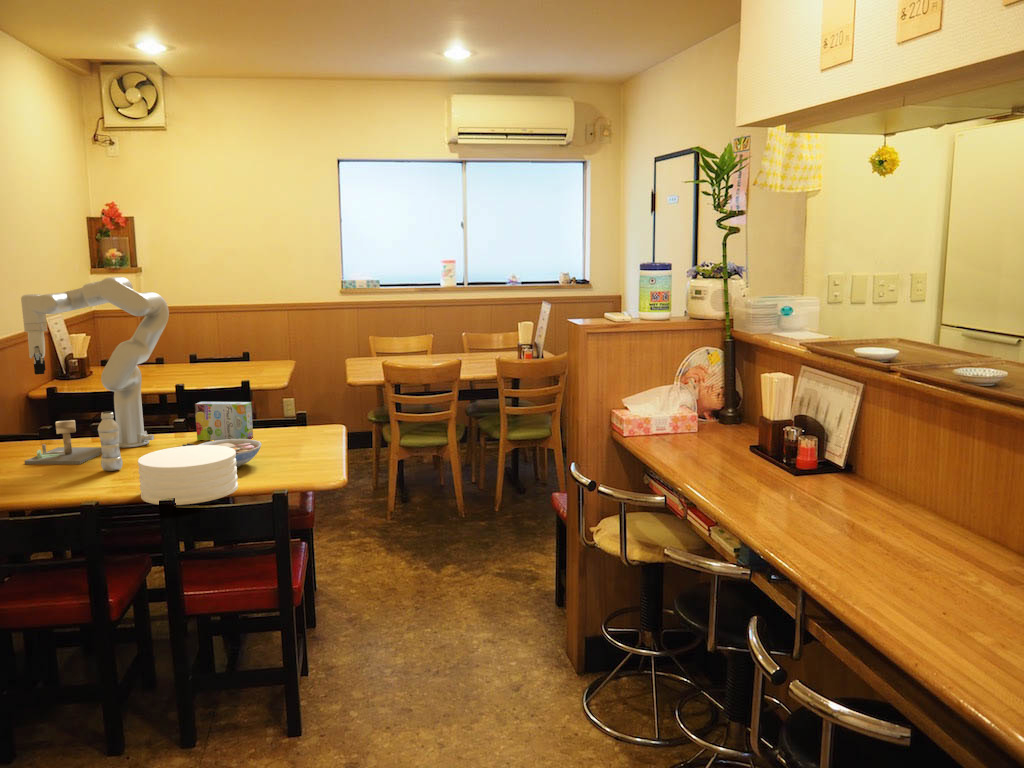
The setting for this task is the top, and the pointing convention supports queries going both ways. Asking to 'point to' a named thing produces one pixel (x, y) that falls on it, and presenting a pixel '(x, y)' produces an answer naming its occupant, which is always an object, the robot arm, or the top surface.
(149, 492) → the plate stack
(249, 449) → the ramen bowl
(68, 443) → the dial handle
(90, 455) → the dial board
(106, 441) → the plastic bottle
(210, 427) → the snack box
